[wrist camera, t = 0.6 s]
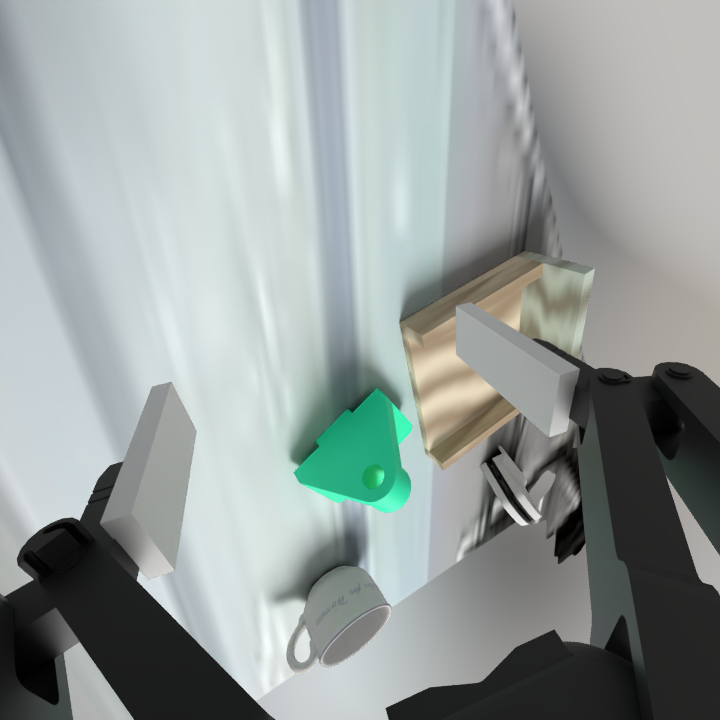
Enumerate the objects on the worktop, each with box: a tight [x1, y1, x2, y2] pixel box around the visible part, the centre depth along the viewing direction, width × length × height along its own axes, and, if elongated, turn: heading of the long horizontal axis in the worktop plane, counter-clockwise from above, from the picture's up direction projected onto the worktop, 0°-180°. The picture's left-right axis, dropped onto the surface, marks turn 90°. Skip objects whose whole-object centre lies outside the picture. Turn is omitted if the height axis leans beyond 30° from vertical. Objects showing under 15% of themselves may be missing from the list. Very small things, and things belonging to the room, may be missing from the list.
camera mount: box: [294, 388, 412, 513], centre depth 36 cm, size 12×8×10 cm, turn 126°
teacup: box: [286, 566, 392, 674], centre depth 48 cm, size 14×11×8 cm
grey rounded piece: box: [480, 445, 542, 526], centre depth 63 cm, size 17×5×10 cm, turn 40°
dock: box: [400, 250, 595, 470], centre depth 42 cm, size 22×18×8 cm
